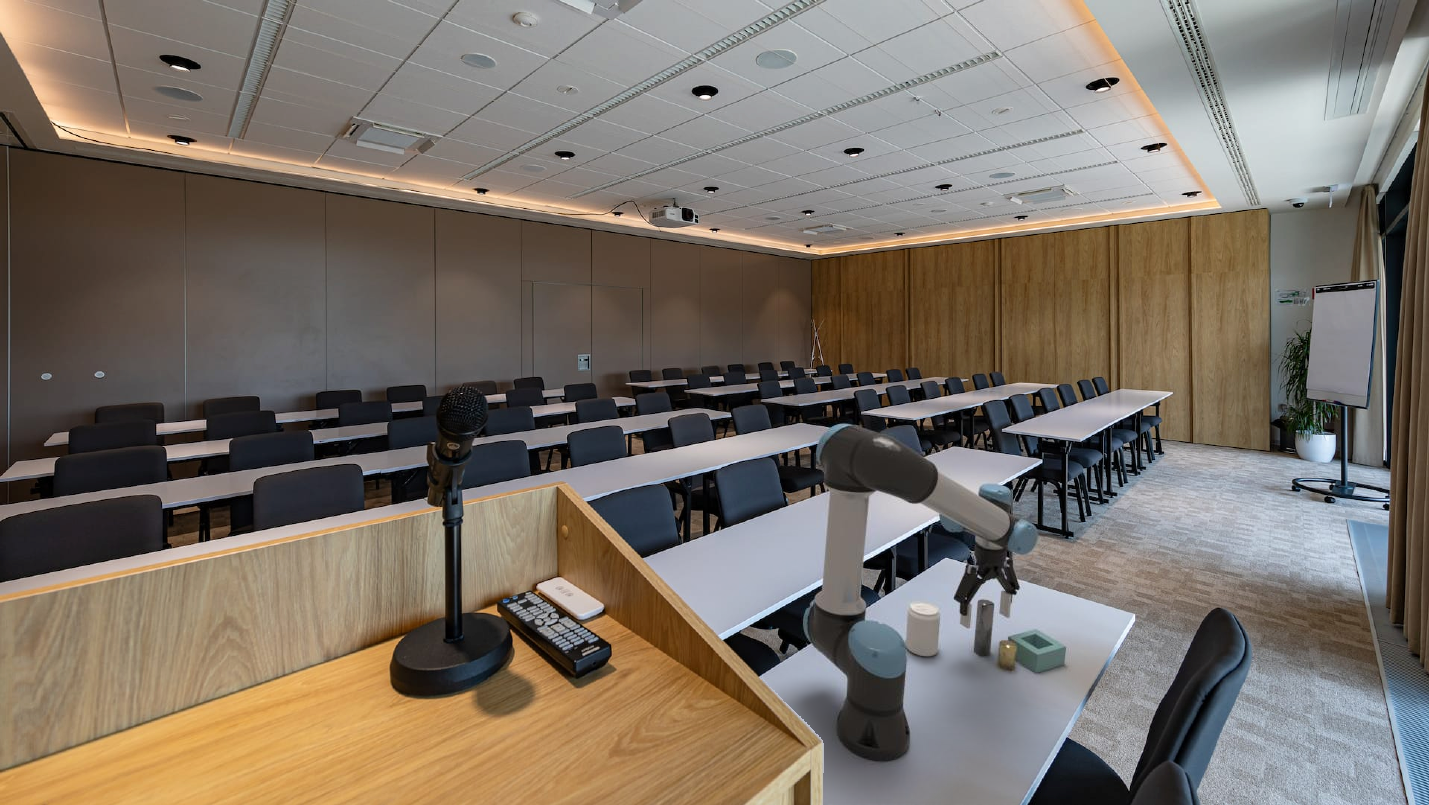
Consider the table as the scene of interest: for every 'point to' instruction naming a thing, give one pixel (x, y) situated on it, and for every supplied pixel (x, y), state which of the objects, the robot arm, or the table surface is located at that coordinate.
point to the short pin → (1007, 655)
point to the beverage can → (922, 628)
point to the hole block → (1038, 650)
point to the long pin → (983, 627)
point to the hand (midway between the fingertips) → (985, 620)
